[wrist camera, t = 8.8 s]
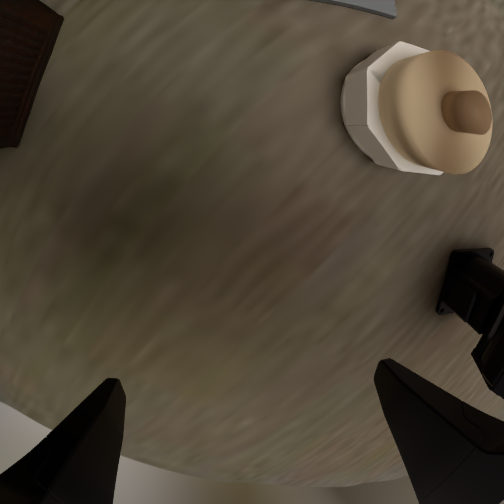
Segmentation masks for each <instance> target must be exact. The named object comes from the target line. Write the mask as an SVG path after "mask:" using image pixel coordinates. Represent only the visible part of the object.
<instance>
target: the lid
mask: <svg viewBox="0 0 504 504" xmlns="http://www.w3.org/2000/svg"><path fill="white" fill-rule="evenodd" d="M378 108H379V115H380V120H381V123H382V126H383V129H384V132H385V134H386V136H387V138H388V140H389V141H390V143H391V144H392V146H393V147H394V148H395V150H396V151H397V152H398V153H399V154H400V155H401V156H402V157H404V158H405V159H406V160H408V161H410V162H411V163H413V164H416V165H419V166H423V167H427V168H431V169H435V170H438V171H442V172H446V173H450V174H457V175H459V174H464V173H467V172H469V171H471V170H473V169H474V168H475V167H476V166H478V164H479V163H480V162H481V161H482V159H483V158H484V156H485V154H486V152H487V150H488V147H489V144H490V140H491V135H492V112H491V106H490V102H489V98H488V95H487V92H486V90H485V87H484V85H483V83H482V81H481V80H480V78H479V76H478V75H477V73H476V72H475V71H474V69H473V68H472V67H471V66H470V65H469V64H468V63H467V62H466V61H465V60H463V59H462V58H461V57H459V56H458V55H456V54H454V53H451V52H448V51H444V50H434V51H429V52H426V53H422V54H418V55H415V56H411V57H408V58H404V59H401V60H399V61H397V62H395V63H394V64H393V65H392V66H391V67H390V68H389V69H388V70H387V71H386V73H385V74H384V76H383V79H382V81H381V84H380V88H379V94H378Z"/></svg>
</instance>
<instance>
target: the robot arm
mask: <svg viewBox="0 0 504 504" xmlns="http://www.w3.org/2000/svg"><path fill="white" fill-rule="evenodd" d="M493 255H494V250H492V249H491V248H485V249H469V250H455V251H453V252H452V254H451V257H450V261H449V265H448V269H447V273H446V277H445V281H444V285H443V288H442V292H441V295H440V299H439V302H438V305H437V308H436V312H437V313H438V314H439V315H443V314H448V313H452V312H455V313H456V314H457V315H458V316H459V317H460V318H461V319H462V320H463V321H464V322H467V323H468V324H469V325H470V326H471V327H472V328H473V329H474V330H475V331H476V332H477V333H478V334H482V337H481V338H480V340H479V342H478V344H477V346H476V347H475V348H474V349H473V351H472V353H471V355H472V357H473V359H474V361H475V363H476V365H477V366H478V368H479V370H480V372H481V374H482V376H483V378H484V380H485V382H486V384H487V386H488V388H489V389H490V390H491V391H493V392H494V393H495V394H497V395H499V396H501V397H502V398H503V399H504V270H502V269H501V268H499V267H497V266H496V265H494V264H493V263H492V259H493ZM455 256H456V257H455ZM374 383H375V386H376V389H377V393H378V396H379V399H380V403H381V406H382V410H383V413H384V416H385V418H386V421H387V423H388V425H389V428H390V430H391V433H392V435H393V437H394V440H395V442H396V445H397V447H398V450H399V452H400V455H401V457H402V460H403V462H404V465H405V467H406V470H407V472H408V475H409V477H410V480H411V483H412V485H413V488H414V491H415V493H416V496H417V499H418V501H419V504H504V421H501V420H499V419H497V418H495V417H492V416H490V415H488V414H486V413H484V412H482V411H480V410H478V409H476V408H474V407H472V406H470V405H469V404H467V403H465V402H463V401H461V400H460V399H458V398H456V397H455V396H453V395H451V394H450V393H448V392H446V391H445V390H443V389H441V388H439V387H438V386H436V385H434V384H433V383H431V382H429V381H428V380H426V379H424V378H423V377H421V376H419V375H418V374H416V373H414V372H412V371H411V370H409V369H407V368H406V367H404V366H402V365H401V364H399V363H398V362H396V361H394V360H393V359H390V358H388V359H383V360H380V361H379V363H378V366H377V369H376V372H375V375H374ZM125 406H126V395H125V392H124V390H123V387H122V385H121V382H120V380H119V379H117V378H107V379H105V380H104V381H103V382H102V383H101V384H100V385H99V386H98V387H97V388H96V389H95V390H94V391H93V392H92V393H91V394H90V395H89V396H88V397H87V398H86V399H85V400H83V401H82V402H81V403H80V404H79V405H78V406H77V407H76V408H75V409H74V410H73V411H72V412H71V413H70V414H69V415H68V416H67V417H66V418H65V419H64V420H63V421H62V422H61V423H60V424H59V425H57V426H56V427H55V428H54V429H53V430H52V431H51V432H50V433H49V434H48V435H47V438H46V437H45V438H44V439H43V440H42V441H41V442H40V443H39V444H38V445H37V446H35V447H34V448H33V449H32V450H31V451H30V452H29V453H27V454H26V455H25V456H24V457H23V458H21V459H20V460H19V461H17V462H16V463H15V464H13V465H12V466H11V467H9V468H8V469H7V470H6V471H4V472H3V473H2V474H0V504H113V498H114V490H115V483H116V476H117V470H118V464H119V458H120V452H121V447H122V441H123V432H124V418H125Z"/></svg>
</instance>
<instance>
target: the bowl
mask: <svg viewBox="0 0 504 504" xmlns="http://www.w3.org/2000/svg"><path fill="white" fill-rule="evenodd" d="M426 52H429V51H428V50H426V49H423V48H420V47H417V46H414V45H411V44H408V43H405V42H402V41H400V42H396V43H394V44H391V45H389V46H386V47H384V48H382V49H379V50H377V51H375V52H374V53H373V54H371V55H370V56H369V57H368V58H367V59H365V60H363V61H361V62H360V63H358V64H357V65H355V66H354V67H353V68H352V69H351V71H350V72H349V73H348V75H347V76H346V77H345V81H344V84H343V86H342V91H341V99H340V105H341V113H342V118H343V122H344V125H345V127H346V130H347V132H348V134H349V135H350V137H351V139H352V140H353V142H354V143H355V145H356V146H357V147H358V148H359V149H360V150H361V151H362V152H363V153H364V154H366V155H367V156H368V157H370V158H371V159H372V160H373V161H374V162H375V164H377V165H381V166H384V167H388V168H392V169H395V170H399V171H406V172H416V173H425V174H433V175H441V174H442V173H443V172H442V171H438V170H435V169H431V168H427V167H423V166H419V165H416V164H413V163H411V162H410V161H408V160H406V159H405V158H404V157H402V156H401V155H400V154H399V153H398V152H397V151H396V150H395V148H394V147H393V146H392V144H391V143H390V141H389V140H388V138H387V136H386V134H385V132H384V129H383V126H382V123H381V120H380V115H379V108H378V94H379V88H380V84H381V81H382V79H383V76H384V74H385V73H386V71H387V70H388V69H389V68H390V67H391V66H392V65H393V64H394V63H395V62H397V61H399V60H401V59H404V58H408V57H411V56H415V55H418V54H422V53H426Z"/></svg>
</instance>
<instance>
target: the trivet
mask: <svg viewBox="0 0 504 504" xmlns="http://www.w3.org/2000/svg"><path fill="white" fill-rule="evenodd" d="M312 1H318V2H324V3H330V4H335V5H340V6H345V7H350V8H354V9H358V10H362V11H366V12H370V13H374V14H378V15H381V16H385V17H388V18H391V19H394V18H396V17H397V14H396V7H395V0H312Z"/></svg>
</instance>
